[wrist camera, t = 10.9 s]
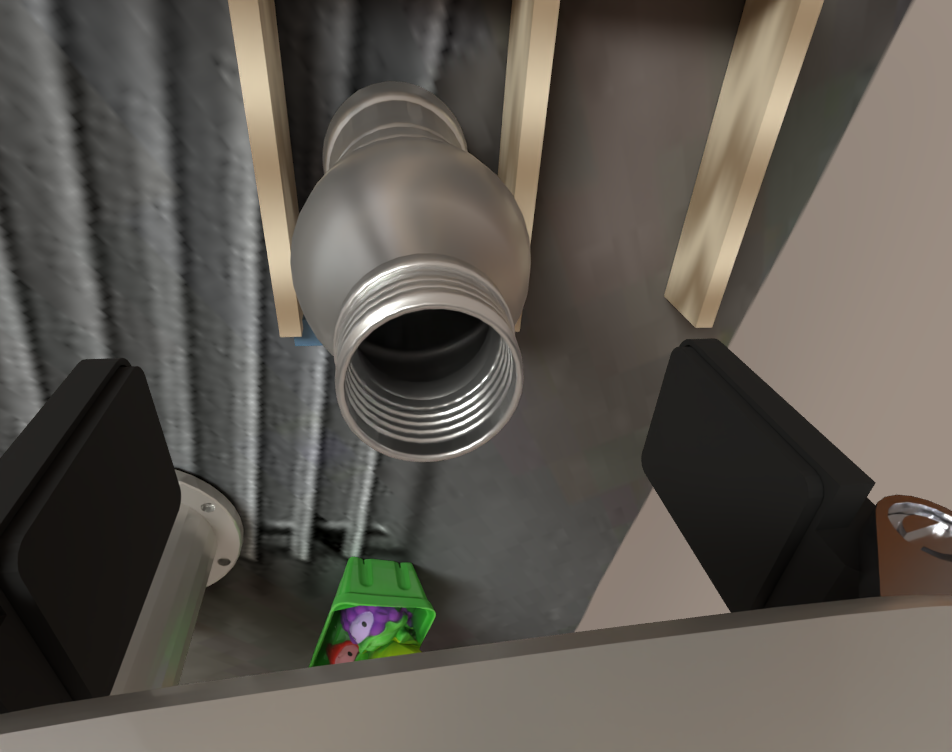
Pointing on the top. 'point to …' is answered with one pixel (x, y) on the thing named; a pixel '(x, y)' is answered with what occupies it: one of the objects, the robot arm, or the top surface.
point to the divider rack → (524, 113)
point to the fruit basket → (374, 614)
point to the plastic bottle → (413, 276)
